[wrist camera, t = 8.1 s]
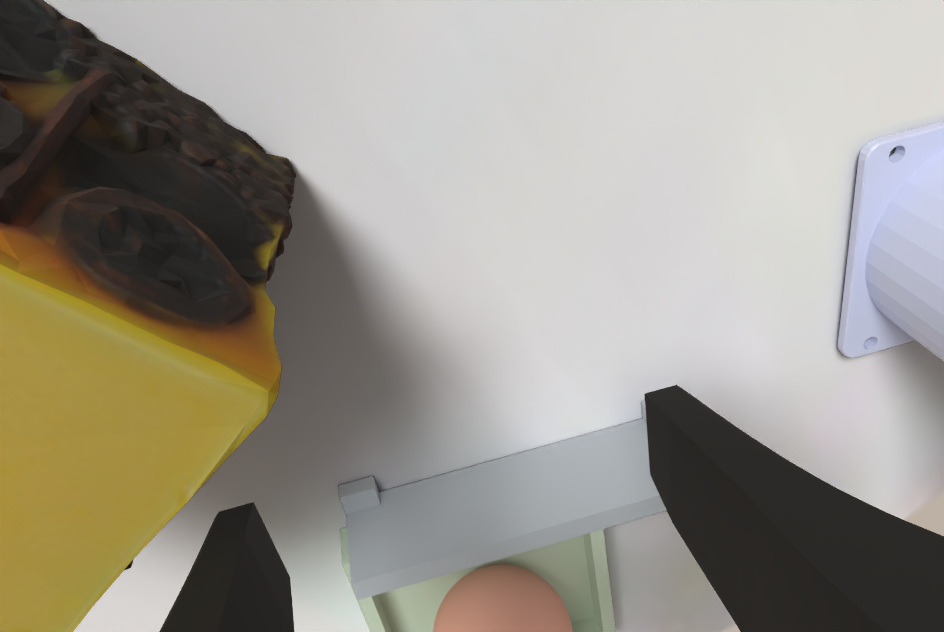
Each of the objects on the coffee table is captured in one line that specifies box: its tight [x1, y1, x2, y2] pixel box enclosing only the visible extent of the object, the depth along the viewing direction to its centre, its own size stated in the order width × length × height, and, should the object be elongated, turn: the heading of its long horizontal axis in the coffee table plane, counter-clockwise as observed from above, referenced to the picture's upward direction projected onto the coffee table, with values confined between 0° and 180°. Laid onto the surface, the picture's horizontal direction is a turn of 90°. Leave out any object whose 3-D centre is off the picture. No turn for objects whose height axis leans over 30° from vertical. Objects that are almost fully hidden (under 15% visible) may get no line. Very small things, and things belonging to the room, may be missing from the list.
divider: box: [338, 400, 667, 600], centre depth 25 cm, size 12×2×4 cm, turn 100°
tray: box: [340, 527, 616, 632], centre depth 28 cm, size 9×9×2 cm
